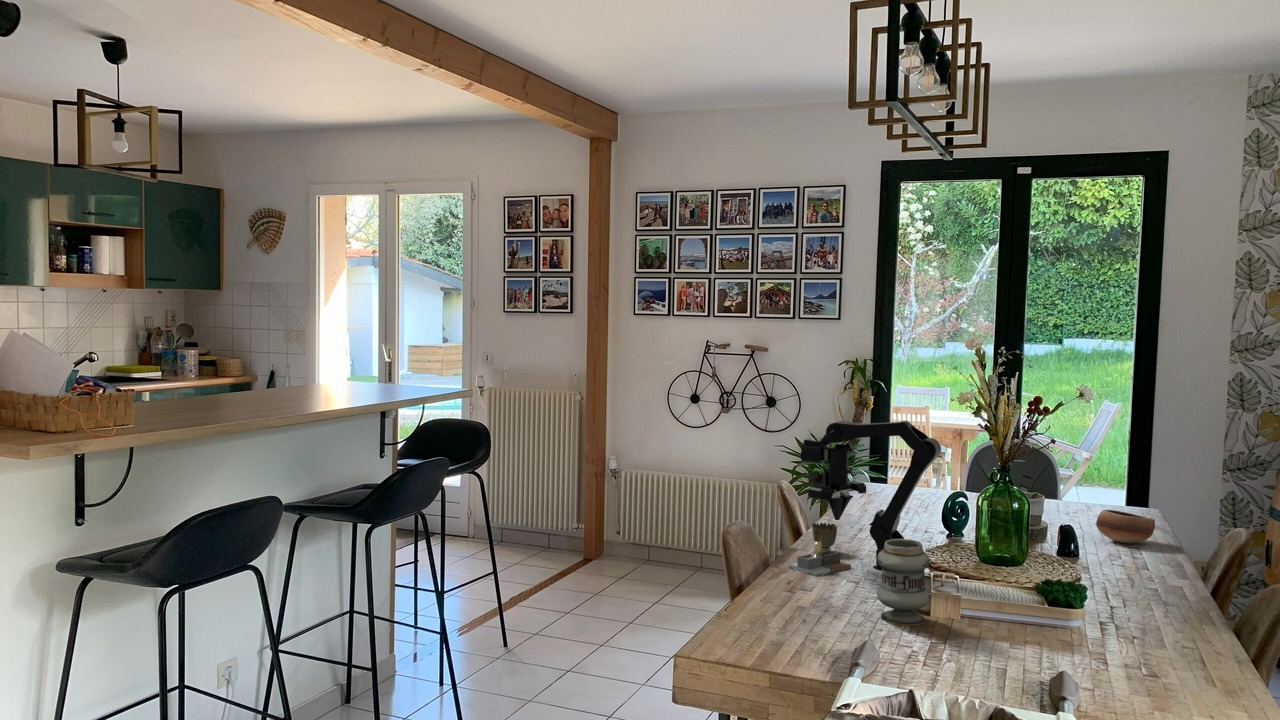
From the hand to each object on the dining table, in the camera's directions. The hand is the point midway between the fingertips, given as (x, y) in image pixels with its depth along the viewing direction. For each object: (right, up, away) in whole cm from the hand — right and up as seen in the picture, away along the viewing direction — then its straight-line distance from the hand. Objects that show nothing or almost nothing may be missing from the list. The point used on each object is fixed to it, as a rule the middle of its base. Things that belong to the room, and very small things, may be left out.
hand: (837, 519), depth 271 cm
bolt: (-8, -11, -8) cm, 16 cm away
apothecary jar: (+5, -15, -51) cm, 53 cm away
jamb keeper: (-9, -12, -9) cm, 18 cm away
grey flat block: (-4, -12, -5) cm, 14 cm away
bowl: (+95, -12, +26) cm, 99 cm away
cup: (-1, -12, +12) cm, 17 cm away
